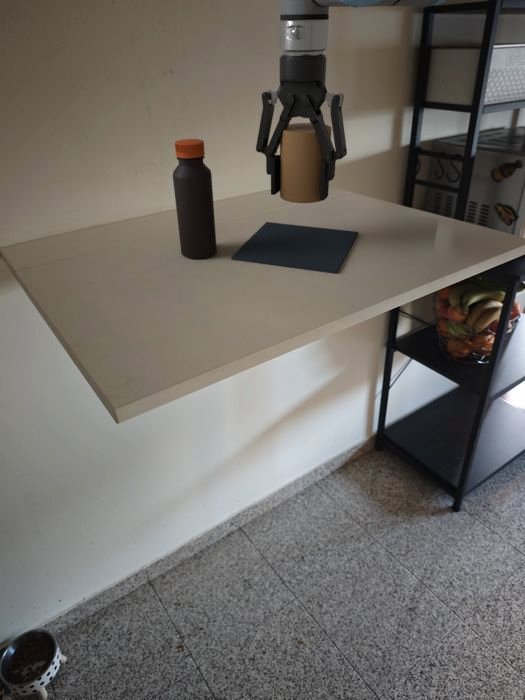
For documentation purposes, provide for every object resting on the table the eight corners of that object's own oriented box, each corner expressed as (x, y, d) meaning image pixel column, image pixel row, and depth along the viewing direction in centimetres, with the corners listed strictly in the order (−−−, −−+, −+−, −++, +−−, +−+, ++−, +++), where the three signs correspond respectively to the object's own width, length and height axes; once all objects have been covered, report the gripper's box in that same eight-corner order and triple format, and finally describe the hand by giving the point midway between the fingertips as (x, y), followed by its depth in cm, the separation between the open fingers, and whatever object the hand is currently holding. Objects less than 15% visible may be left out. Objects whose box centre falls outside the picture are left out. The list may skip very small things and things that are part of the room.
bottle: (191, 263, 91) (179, 147, 80) (175, 251, 96) (162, 140, 85) (223, 254, 94) (216, 142, 83) (206, 243, 99) (198, 136, 88)
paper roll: (288, 121, 92) (273, 130, 85) (336, 123, 90) (324, 133, 83) (287, 187, 99) (273, 201, 92) (332, 191, 96) (321, 205, 89)
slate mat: (358, 234, 102) (358, 231, 102) (336, 273, 87) (337, 271, 86) (266, 224, 108) (266, 221, 108) (231, 259, 92) (230, 257, 92)
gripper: (232, 54, 80) (237, 194, 93) (363, 55, 73) (350, 208, 85) (251, 51, 86) (254, 184, 98) (375, 52, 78) (361, 196, 91)
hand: (299, 195), depth 92 cm, fingers closed on paper roll, 9 cm apart
